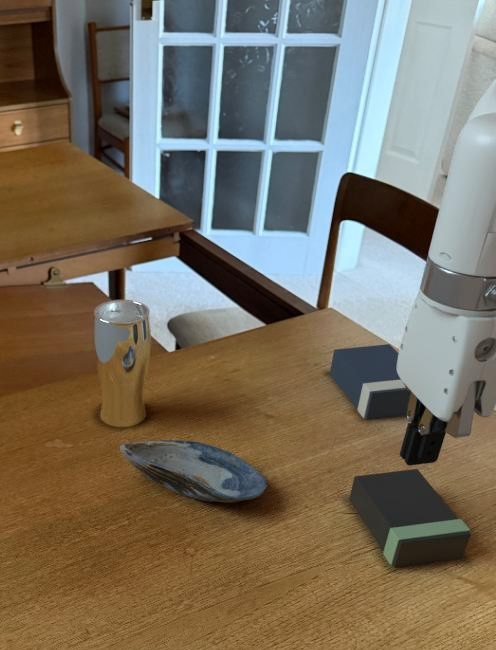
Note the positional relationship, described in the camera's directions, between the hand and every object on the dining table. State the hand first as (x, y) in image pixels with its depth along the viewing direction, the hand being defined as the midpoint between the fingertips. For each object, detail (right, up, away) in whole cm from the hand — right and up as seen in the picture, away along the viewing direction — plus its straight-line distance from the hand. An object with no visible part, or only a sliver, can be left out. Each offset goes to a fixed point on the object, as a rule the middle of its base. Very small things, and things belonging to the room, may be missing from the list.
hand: (417, 459), depth 74 cm
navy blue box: (+4, +16, +29) cm, 33 cm away
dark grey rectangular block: (-1, -2, +8) cm, 8 cm away
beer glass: (-29, +7, +23) cm, 38 cm away
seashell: (-21, -3, +11) cm, 24 cm away
